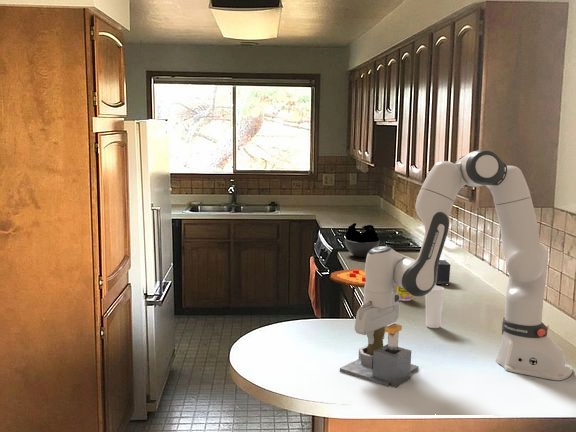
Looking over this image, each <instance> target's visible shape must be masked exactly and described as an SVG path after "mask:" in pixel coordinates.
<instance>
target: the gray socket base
mask: <svg viewBox="0 0 576 432" xmlns="http://www.w3.org/2000/svg"><path fill="white" fill-rule="evenodd" d="M367 348H368V345H365V346H363V347H360V348H359V349H358V359H356V360H354V361H351V362H350V363H347V364H345V365H343V366H341V367H339V372H341V373H344V374H348V375H350V376H353V377H357V378H359V379H362V380H365V381H369V382H371V383H375V384H378V385H381V386H385V387H387V388H388V387H393V388H398V387H400V386H402V385H403V384H405V383H407V382H408V381H410V380H411V374H413V373H415V372H417V371H418V370H419V366H418V365H417V364H412V349H408V348H404V347H400V346H398V353H396V354H393V353H390V352H387V349H388V343H387V344H385V345H383V347H381V348H379V349H376V350H374V354H373V356H372V355H369V354H367Z"/></svg>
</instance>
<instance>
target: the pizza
mask: <svg viewBox="0 0 576 432" xmlns="http://www.w3.org/2000/svg"><path fill="white" fill-rule="evenodd" d="M330 281H333V282H335V283H338V284H342V285H345V286H352V287H353V288H354V287H357V288H358V287H361V288H364V286H365V283H366V278H365V268H364V269H361V268H360V269H359V268H352V269H349V268H348V269H343V270H338V271H335V270H334V272H331V273H330Z"/></svg>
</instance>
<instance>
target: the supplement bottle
mask: <svg viewBox="0 0 576 432" xmlns="http://www.w3.org/2000/svg"><path fill="white" fill-rule="evenodd" d="M396 294H400V301H401V302H409V301H412V299H413V298H412V297H413V295H411V294H410V293H409V292H407V291H406V290H405V289H403V288H401V287H399V286H396Z"/></svg>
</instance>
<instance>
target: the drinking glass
mask: <svg viewBox="0 0 576 432" xmlns="http://www.w3.org/2000/svg"><path fill="white" fill-rule="evenodd" d="M424 297H425V300H424V301H425V326H426V327H427V328H429V329H439V328H440V327H441V320H442V313H443V307H444V299H445V287H443V286H441V285H435V286H434V287H433V289H432V290H431V291H430V292H429V293H428V294H426V295H424Z"/></svg>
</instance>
